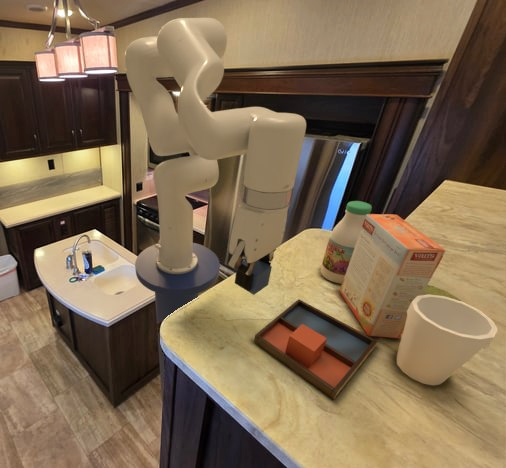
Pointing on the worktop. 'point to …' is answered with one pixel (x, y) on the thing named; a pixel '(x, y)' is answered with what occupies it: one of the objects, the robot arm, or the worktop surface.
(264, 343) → the sorting tray
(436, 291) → the mat
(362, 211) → the milk bottle
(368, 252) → the cracker box
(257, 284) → the slate-blue block
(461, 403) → the worktop surface
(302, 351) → the terracotta block
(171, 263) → the robot arm
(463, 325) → the foam cup
